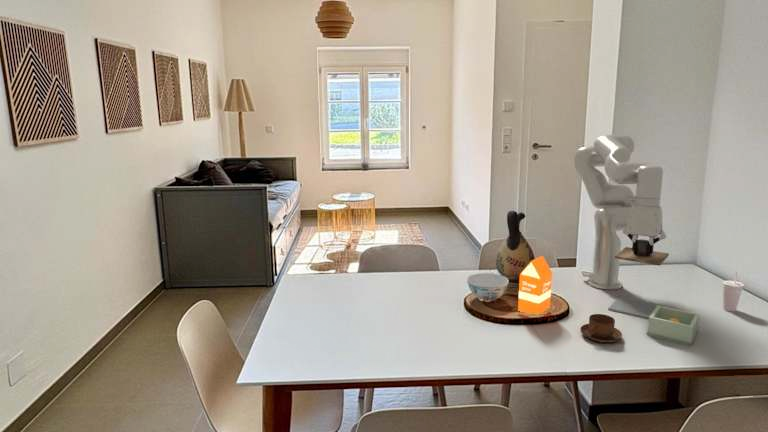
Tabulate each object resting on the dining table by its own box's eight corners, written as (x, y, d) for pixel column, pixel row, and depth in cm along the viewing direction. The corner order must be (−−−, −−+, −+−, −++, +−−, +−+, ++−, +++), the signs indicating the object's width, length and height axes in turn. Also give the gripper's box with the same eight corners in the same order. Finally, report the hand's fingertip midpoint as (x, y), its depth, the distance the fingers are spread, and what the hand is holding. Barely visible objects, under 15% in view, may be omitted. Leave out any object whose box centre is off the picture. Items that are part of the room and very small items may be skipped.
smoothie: (743, 313, 179) (749, 274, 176) (723, 312, 180) (728, 273, 177) (735, 306, 185) (741, 268, 182) (715, 305, 186) (720, 267, 183)
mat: (608, 309, 183) (608, 308, 183) (619, 297, 195) (619, 295, 194) (655, 320, 174) (655, 318, 174) (664, 306, 185) (664, 304, 185)
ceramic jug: (504, 273, 223) (507, 204, 216) (539, 280, 214) (543, 208, 207) (487, 284, 209) (489, 211, 203) (524, 292, 200) (528, 216, 194)
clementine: (664, 331, 164) (665, 319, 163) (666, 326, 167) (668, 315, 166) (678, 334, 161) (680, 322, 161) (681, 329, 164) (682, 318, 164)
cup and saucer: (618, 349, 155) (620, 330, 153) (576, 340, 161) (577, 321, 160) (624, 334, 165) (625, 315, 163) (584, 325, 171) (585, 308, 170)
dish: (647, 335, 163) (649, 317, 162) (655, 322, 173) (657, 305, 171) (690, 345, 156) (693, 327, 155) (697, 331, 165) (699, 314, 164)
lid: (614, 258, 179) (616, 242, 178) (625, 249, 190) (627, 233, 188) (659, 265, 170) (661, 248, 169) (668, 255, 181) (670, 239, 180)
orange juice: (517, 314, 180) (520, 258, 176) (529, 306, 187) (532, 253, 182) (538, 320, 175) (541, 263, 171) (550, 312, 181) (553, 257, 177)
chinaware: (462, 303, 190) (463, 283, 188) (471, 290, 203) (472, 271, 202) (504, 309, 184) (504, 288, 183) (510, 294, 198) (511, 275, 196)
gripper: (618, 201, 178) (613, 252, 182) (672, 206, 168) (666, 261, 172) (624, 197, 184) (619, 247, 188) (677, 203, 174) (671, 255, 178)
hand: (642, 253), depth 180 cm, fingers closed on lid, 3 cm apart
